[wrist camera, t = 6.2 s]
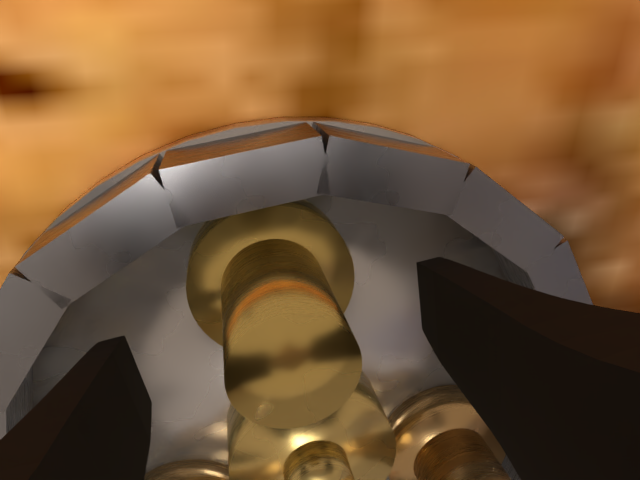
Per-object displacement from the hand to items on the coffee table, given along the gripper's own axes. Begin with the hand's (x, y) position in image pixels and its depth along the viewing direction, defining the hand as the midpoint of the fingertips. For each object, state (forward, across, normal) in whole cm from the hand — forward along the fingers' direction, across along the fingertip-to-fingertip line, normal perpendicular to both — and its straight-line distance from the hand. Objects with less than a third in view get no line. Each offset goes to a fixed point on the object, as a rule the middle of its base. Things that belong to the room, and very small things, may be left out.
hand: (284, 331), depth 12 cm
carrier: (+4, 0, +6) cm, 7 cm away
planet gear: (+3, 0, 0) cm, 3 cm away
